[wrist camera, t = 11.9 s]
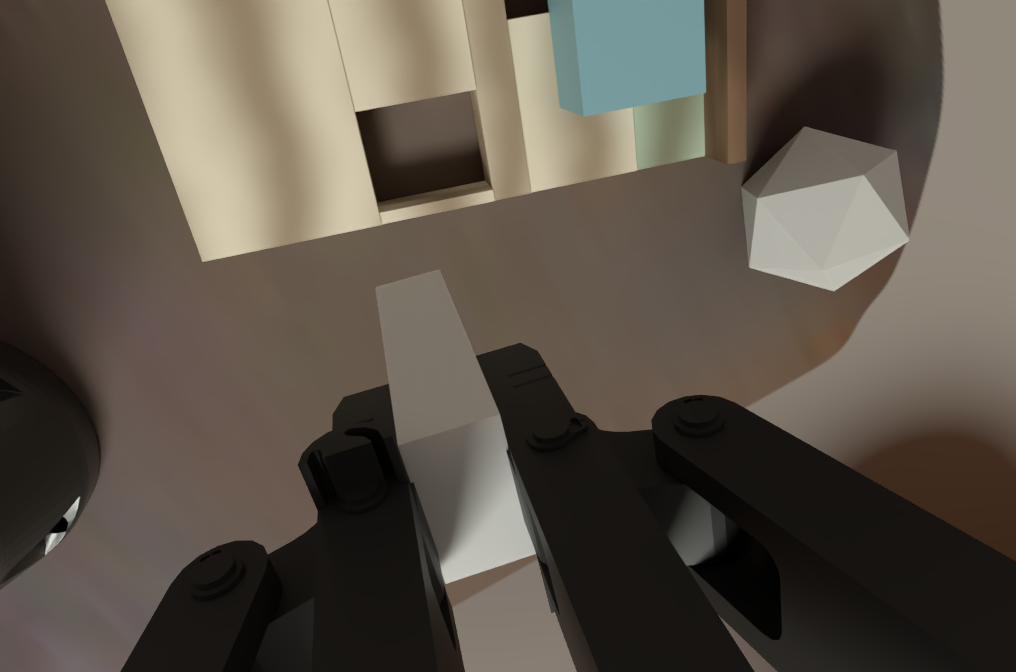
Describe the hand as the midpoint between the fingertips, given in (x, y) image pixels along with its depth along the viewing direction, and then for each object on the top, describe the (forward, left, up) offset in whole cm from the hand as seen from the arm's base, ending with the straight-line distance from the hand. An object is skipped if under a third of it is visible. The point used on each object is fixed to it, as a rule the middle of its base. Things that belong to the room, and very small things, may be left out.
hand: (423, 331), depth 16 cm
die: (+23, -7, -23) cm, 33 cm away
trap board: (+4, +4, -23) cm, 23 cm away
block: (+12, +4, -20) cm, 24 cm away
